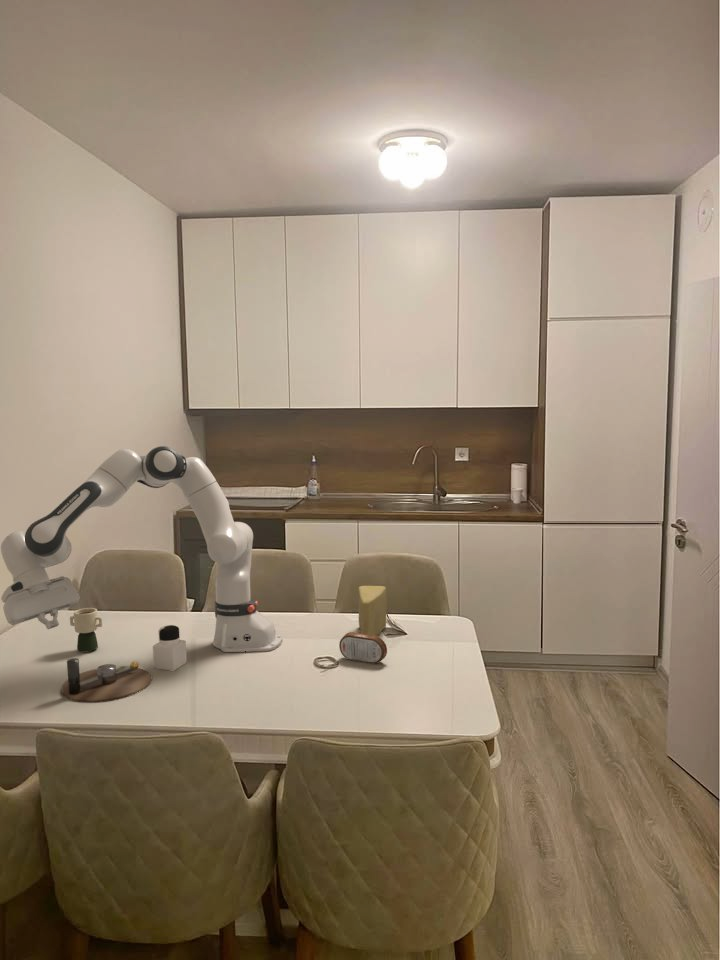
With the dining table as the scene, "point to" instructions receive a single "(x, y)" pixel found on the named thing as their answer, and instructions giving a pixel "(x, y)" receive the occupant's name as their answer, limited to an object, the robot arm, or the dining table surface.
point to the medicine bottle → (169, 649)
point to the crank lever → (105, 676)
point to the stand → (111, 686)
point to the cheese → (372, 609)
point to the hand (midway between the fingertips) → (53, 627)
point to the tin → (363, 647)
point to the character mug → (86, 628)
